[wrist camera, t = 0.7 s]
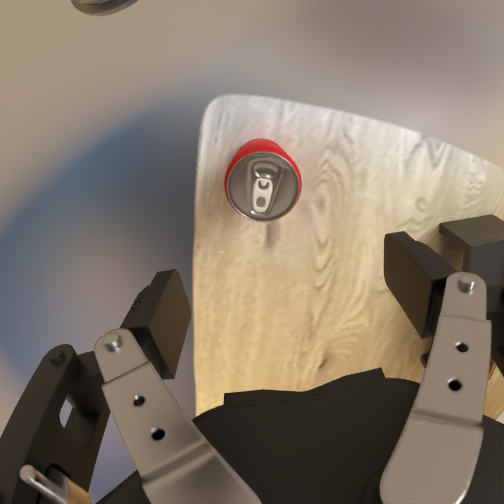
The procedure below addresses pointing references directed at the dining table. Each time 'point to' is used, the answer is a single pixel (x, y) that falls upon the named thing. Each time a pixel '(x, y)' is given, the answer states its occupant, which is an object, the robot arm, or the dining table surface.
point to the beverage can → (262, 181)
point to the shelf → (478, 252)
